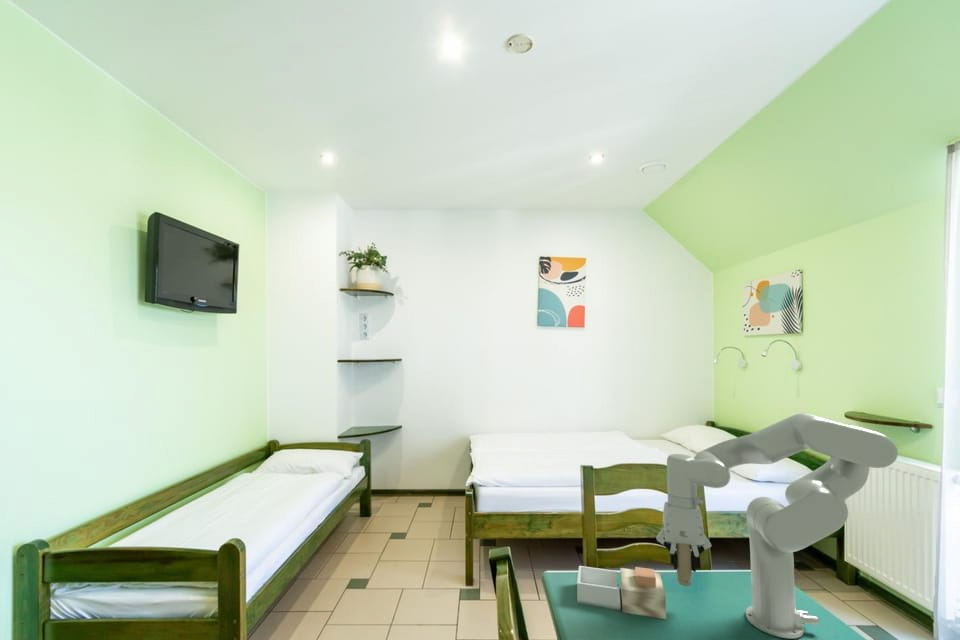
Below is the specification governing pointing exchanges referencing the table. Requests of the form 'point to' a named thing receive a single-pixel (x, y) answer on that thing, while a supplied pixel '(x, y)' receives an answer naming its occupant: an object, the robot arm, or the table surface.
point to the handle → (684, 562)
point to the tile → (645, 577)
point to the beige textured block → (642, 596)
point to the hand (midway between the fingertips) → (683, 567)
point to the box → (598, 587)
